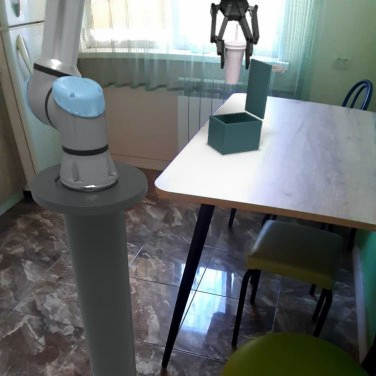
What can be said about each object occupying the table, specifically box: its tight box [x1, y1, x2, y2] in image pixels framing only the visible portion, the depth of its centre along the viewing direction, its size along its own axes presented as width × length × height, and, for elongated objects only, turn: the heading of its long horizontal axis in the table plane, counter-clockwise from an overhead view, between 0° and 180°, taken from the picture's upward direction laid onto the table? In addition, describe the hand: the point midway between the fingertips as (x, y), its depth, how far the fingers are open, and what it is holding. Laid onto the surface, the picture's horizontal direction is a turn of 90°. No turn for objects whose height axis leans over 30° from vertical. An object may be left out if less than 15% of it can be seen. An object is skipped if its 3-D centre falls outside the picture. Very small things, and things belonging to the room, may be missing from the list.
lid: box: [244, 58, 287, 120], centre depth 129 cm, size 14×11×8 cm
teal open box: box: [207, 111, 263, 156], centre depth 134 cm, size 14×11×9 cm
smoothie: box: [224, 23, 247, 85], centre depth 117 cm, size 6×6×14 cm
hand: (235, 65), depth 116 cm, fingers closed on smoothie, 6 cm apart
